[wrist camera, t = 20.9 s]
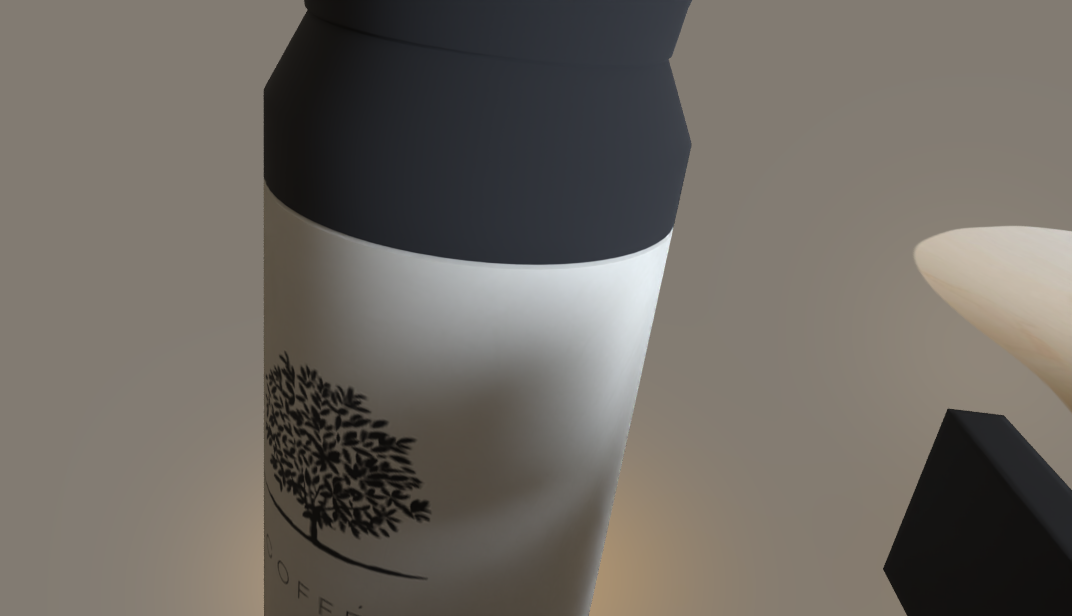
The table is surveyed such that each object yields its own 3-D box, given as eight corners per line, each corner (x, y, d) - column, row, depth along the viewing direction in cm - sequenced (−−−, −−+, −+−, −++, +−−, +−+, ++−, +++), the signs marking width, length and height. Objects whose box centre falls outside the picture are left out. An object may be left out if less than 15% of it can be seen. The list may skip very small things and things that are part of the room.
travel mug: (455, 523, 28) (528, -84, 20) (633, 694, 22) (825, -33, 15) (211, 629, 22) (183, -130, 15) (370, 883, 17) (453, -78, 10)
